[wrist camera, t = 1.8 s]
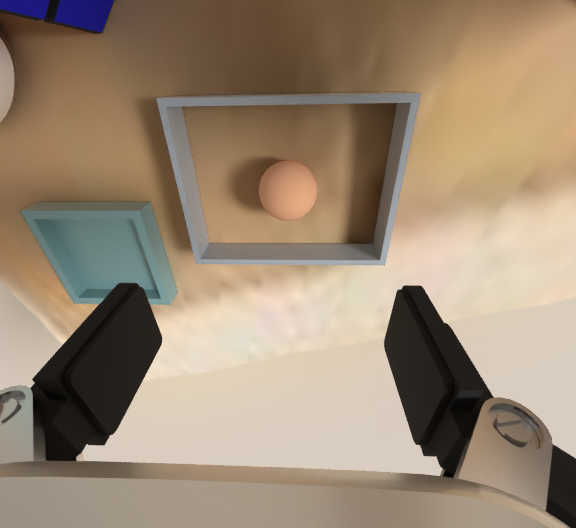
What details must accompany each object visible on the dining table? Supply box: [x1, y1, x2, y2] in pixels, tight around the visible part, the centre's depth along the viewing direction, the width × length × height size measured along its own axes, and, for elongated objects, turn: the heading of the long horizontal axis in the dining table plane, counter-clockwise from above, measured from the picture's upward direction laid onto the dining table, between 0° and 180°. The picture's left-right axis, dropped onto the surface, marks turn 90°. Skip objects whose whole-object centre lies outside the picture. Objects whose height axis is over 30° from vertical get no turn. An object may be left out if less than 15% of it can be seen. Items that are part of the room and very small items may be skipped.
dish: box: [20, 202, 178, 305], centre depth 28 cm, size 11×11×2 cm
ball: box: [259, 160, 317, 221], centre depth 22 cm, size 5×5×5 cm
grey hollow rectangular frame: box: [156, 92, 421, 265], centre depth 23 cm, size 17×13×3 cm
